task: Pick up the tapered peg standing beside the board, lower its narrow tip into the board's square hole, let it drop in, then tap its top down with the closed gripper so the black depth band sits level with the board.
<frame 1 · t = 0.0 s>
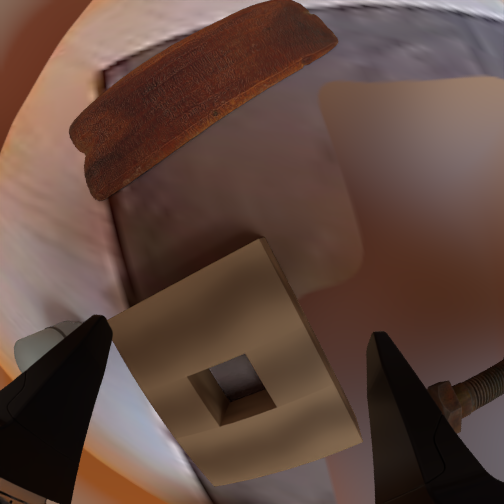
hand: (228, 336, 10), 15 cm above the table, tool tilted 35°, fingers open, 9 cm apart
bolt: (487, 370, 22), on the table
board: (240, 370, 25), on the table
wooden tablet: (195, 85, 25), on the table
peg: (80, 336, 27), on the table
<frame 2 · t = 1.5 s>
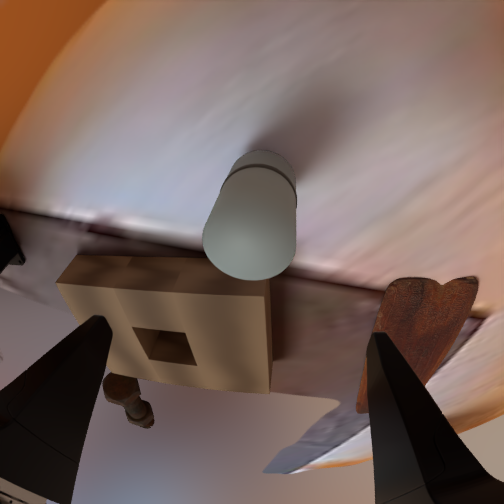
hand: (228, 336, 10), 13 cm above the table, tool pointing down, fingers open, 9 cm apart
bolt: (138, 392, 44), on the table
board: (177, 314, 29), on the table
wooden tablet: (401, 358, 31), on the table
peg: (264, 172, 20), on the table
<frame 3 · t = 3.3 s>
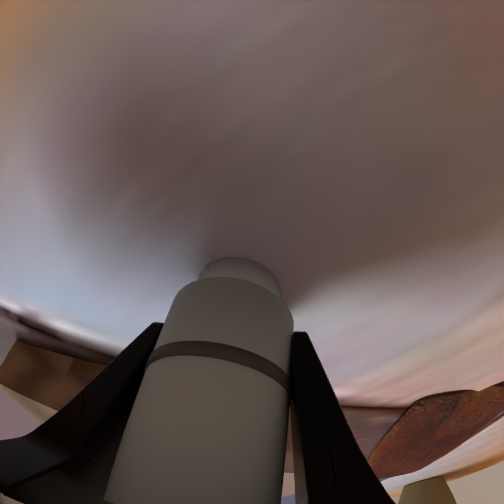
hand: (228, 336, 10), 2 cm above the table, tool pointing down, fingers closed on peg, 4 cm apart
board: (142, 413, 21), on the table
plant pot: (424, 481, 36), on the table
wooden tablet: (413, 444, 23), on the table
peg: (238, 291, 11), on the table, touching gripper
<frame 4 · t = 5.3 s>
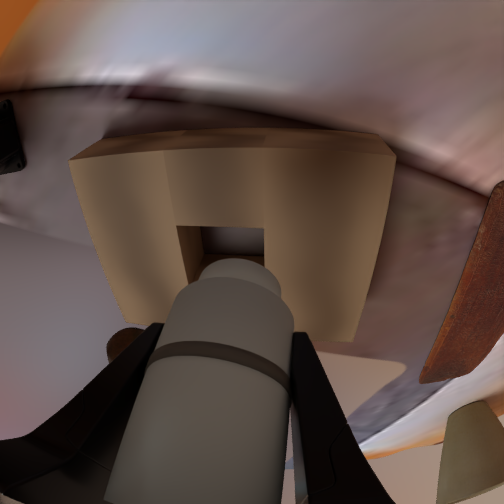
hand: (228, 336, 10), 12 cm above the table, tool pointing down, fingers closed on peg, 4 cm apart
bolt: (154, 363, 36), on the table
board: (234, 226, 22), on the table
plant pot: (467, 410, 37), on the table
wooden tablet: (482, 304, 24), on the table
peg: (239, 291, 11), point 10 cm above the table, touching gripper
when the fingers open (5 cm above the table, at t = 7.7 s): peg drops 3 cm, resting in board.
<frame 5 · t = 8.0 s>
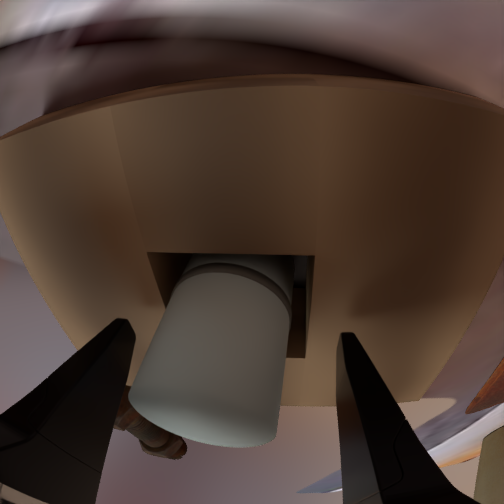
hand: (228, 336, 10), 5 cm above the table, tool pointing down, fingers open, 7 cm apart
bolt: (153, 406, 28), on the table
board: (249, 244, 13), on the table
plant pot: (503, 429, 29), on the table
peg: (249, 244, 13), resting in board
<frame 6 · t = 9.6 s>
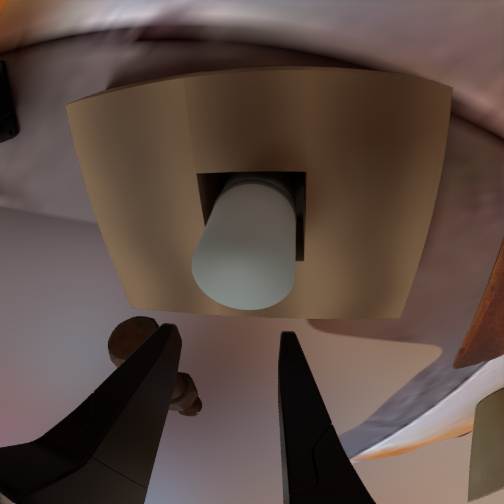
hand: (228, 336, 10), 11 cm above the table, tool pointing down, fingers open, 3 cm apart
bolt: (170, 359, 32), on the table
board: (261, 185, 18), on the table
plant pot: (495, 397, 33), on the table
peg: (261, 185, 18), resting in board
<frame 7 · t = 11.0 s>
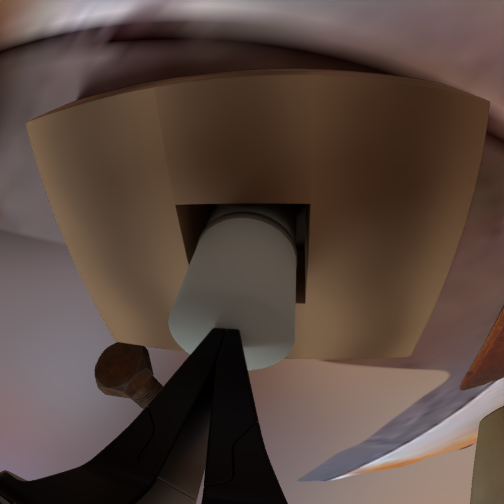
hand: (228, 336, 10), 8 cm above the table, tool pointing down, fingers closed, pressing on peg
bolt: (163, 382, 30), on the table
board: (256, 209, 16), on the table
plant pot: (499, 412, 31), on the table
peg: (256, 209, 16), resting in board, touching gripper
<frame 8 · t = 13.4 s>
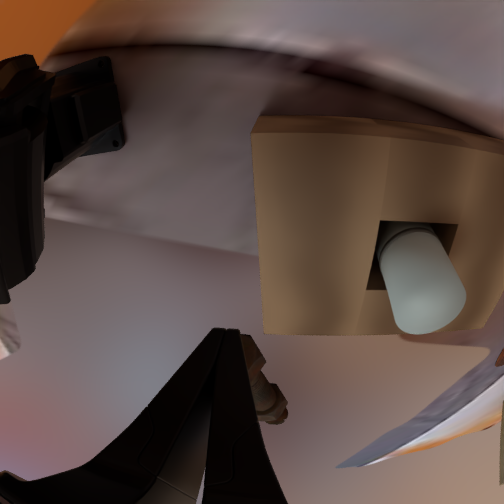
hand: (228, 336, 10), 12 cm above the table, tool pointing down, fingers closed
bolt: (258, 372, 33), on the table
board: (395, 222, 20), on the table
peg: (395, 222, 20), resting in board
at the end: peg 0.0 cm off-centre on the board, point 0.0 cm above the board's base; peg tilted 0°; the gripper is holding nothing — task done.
